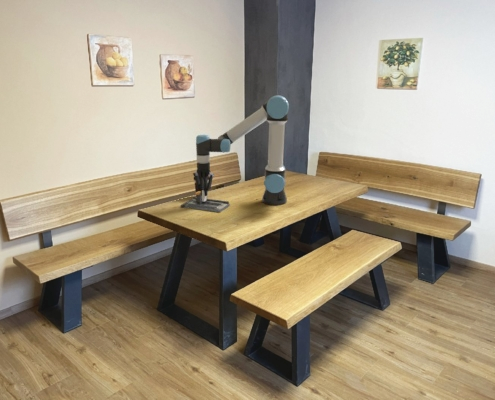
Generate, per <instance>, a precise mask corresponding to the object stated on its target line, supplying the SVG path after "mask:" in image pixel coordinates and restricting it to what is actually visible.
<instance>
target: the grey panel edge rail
mask: <svg viewBox="0 0 495 400" xmlns="http://www.w3.org/2000/svg"><path fill="white" fill-rule="evenodd" d="M192 200H194V199H193V198H191V199H190V200H188V202H191V201H192ZM188 202H187V201H186V202H184V203H182V204H181V205H180V208H182V209H183V208H184V205H185V204H187V203H188ZM184 209H185V208H184Z"/></svg>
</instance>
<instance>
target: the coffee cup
mask: <svg viewBox="0 0 495 400" xmlns="http://www.w3.org/2000/svg"><path fill="white" fill-rule="evenodd" d="M198 176H199V175H198ZM199 180H200V179H199ZM193 181H194V187H195V188H194V189H195V193H196V192H198V191H201V190H200V189H198V188H197V184H196V180H195V177H194V176H193ZM208 181H209V176H208ZM207 192H208V193H209V190H208V191H207ZM208 196H209V194H208V195H207V196H206V199H208Z"/></svg>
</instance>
